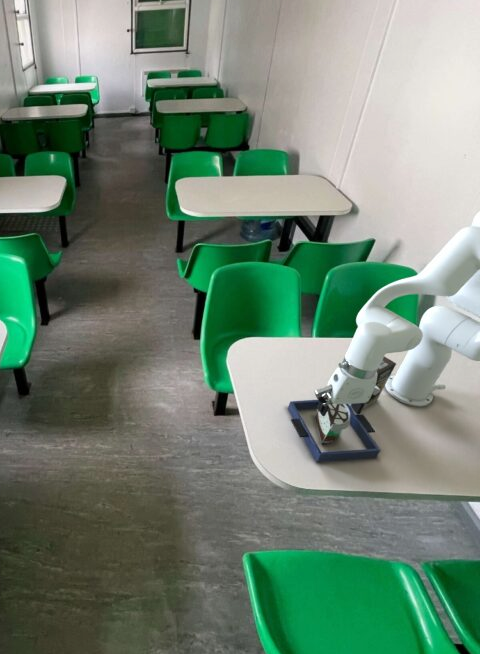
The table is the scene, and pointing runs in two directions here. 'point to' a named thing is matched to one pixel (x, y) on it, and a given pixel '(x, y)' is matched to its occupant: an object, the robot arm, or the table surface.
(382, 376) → the coffee box
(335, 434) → the food container
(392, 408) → the table surface
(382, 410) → the table surface
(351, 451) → the roasting pan
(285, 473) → the table surface
